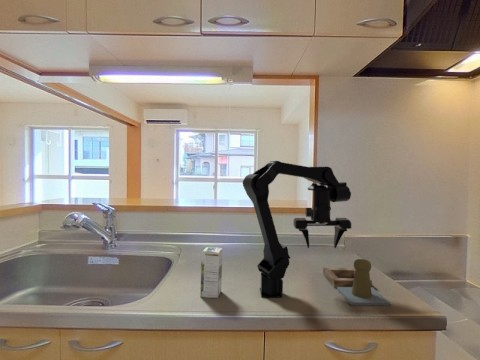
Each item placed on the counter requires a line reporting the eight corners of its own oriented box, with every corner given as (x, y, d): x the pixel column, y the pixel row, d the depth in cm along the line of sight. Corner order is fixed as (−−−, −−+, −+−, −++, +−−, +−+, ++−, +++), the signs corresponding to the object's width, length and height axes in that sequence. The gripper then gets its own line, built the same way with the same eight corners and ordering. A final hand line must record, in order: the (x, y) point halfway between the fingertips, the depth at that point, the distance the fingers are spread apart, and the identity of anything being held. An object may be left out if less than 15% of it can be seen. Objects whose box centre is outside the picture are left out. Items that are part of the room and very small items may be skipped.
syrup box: (204, 290, 100) (204, 246, 100) (222, 291, 100) (222, 247, 99) (200, 297, 95) (200, 251, 94) (218, 298, 94) (219, 252, 93)
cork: (355, 288, 102) (356, 256, 101) (374, 293, 98) (375, 259, 97) (348, 294, 97) (349, 260, 96) (368, 299, 93) (369, 264, 93)
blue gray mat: (350, 305, 91) (350, 302, 91) (337, 289, 103) (337, 286, 103) (390, 305, 91) (390, 302, 91) (372, 289, 103) (372, 287, 103)
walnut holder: (334, 287, 104) (334, 280, 104) (323, 274, 117) (323, 267, 117) (371, 287, 105) (371, 280, 105) (356, 274, 118) (356, 268, 118)
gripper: (342, 199, 112) (341, 241, 113) (291, 200, 113) (291, 241, 114) (352, 204, 101) (351, 250, 102) (295, 204, 102) (295, 250, 103)
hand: (321, 247), depth 106 cm, fingers open, 9 cm apart
